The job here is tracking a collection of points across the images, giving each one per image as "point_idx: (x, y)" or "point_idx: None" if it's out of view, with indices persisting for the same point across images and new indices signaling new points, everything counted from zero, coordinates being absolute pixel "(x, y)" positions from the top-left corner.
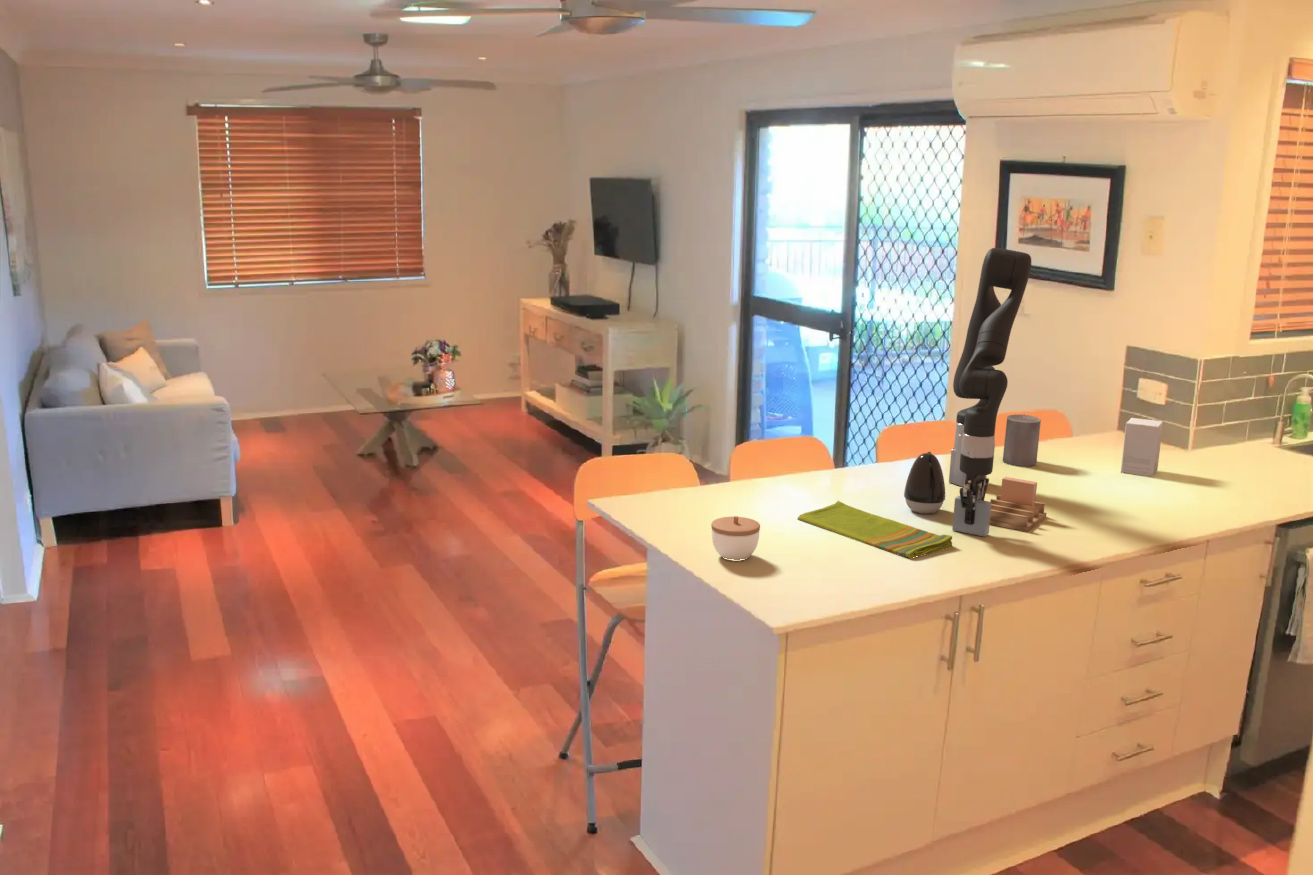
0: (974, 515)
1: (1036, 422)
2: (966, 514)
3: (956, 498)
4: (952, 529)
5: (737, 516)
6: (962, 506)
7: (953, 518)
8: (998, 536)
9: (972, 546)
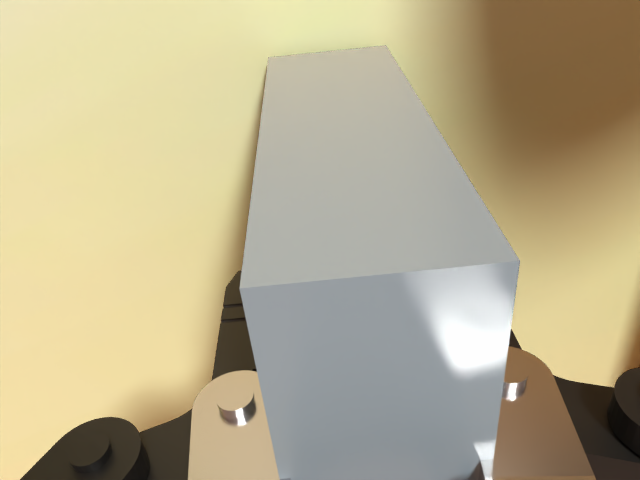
0: None
1: None
2: (218, 348)
3: (250, 318)
4: (269, 59)
5: None
6: (54, 460)
7: (264, 104)
8: None
9: (34, 356)
